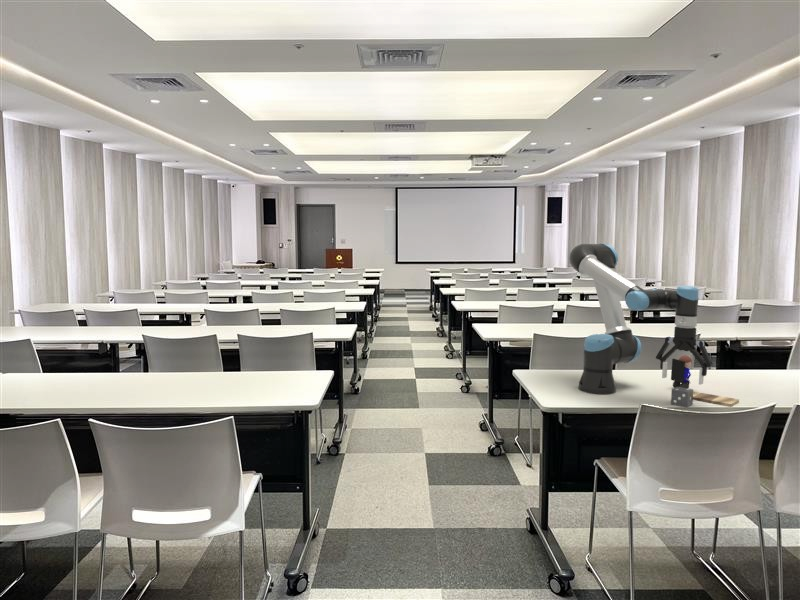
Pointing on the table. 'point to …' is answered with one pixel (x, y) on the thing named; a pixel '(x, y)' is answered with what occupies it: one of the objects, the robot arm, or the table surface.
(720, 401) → the track
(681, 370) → the character figurine
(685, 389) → the die
